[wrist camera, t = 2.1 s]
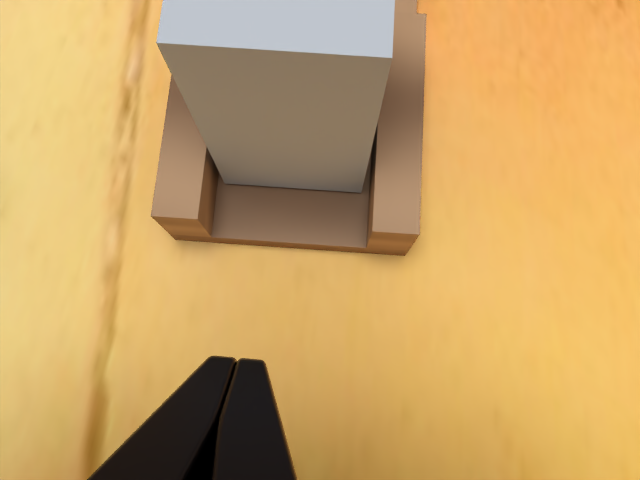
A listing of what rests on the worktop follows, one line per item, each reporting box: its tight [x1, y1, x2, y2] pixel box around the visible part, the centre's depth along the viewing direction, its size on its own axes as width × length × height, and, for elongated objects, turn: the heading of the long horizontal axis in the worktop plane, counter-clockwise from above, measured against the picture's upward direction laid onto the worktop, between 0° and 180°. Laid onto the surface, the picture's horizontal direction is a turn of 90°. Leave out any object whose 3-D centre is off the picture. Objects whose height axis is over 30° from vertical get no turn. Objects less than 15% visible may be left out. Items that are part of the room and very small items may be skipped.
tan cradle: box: [151, 0, 426, 256], centre depth 21 cm, size 15×9×3 cm, turn 176°
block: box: [156, 0, 395, 193], centre depth 17 cm, size 5×5×9 cm
